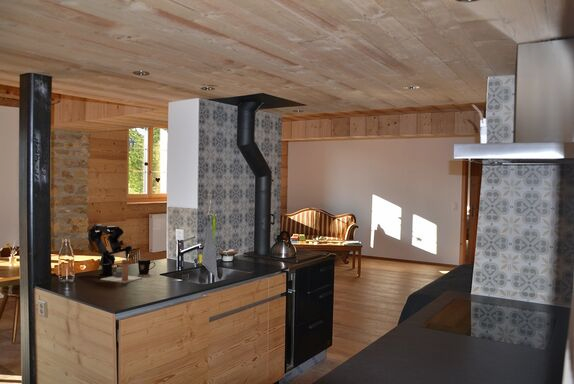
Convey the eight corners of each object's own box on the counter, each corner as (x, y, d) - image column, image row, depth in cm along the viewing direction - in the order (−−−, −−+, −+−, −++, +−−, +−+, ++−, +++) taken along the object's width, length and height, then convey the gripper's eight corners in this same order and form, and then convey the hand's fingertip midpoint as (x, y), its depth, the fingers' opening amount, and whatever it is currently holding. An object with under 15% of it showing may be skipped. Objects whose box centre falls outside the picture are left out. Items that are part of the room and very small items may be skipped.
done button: (114, 274, 315) (115, 268, 315) (119, 272, 319) (119, 267, 319) (120, 274, 314) (120, 268, 314) (124, 273, 318) (124, 267, 318)
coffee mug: (134, 274, 328) (135, 259, 327) (143, 272, 335) (144, 258, 335) (147, 275, 322) (147, 261, 322) (156, 273, 330) (156, 259, 330)
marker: (120, 280, 302) (120, 260, 302) (123, 279, 306) (124, 259, 306) (126, 280, 301) (126, 260, 301) (129, 279, 305) (129, 259, 305)
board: (100, 279, 306) (100, 275, 306) (118, 275, 321) (118, 271, 321) (124, 283, 298) (124, 278, 298) (142, 278, 314) (142, 273, 314)
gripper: (100, 240, 306) (106, 262, 300) (129, 234, 315) (135, 254, 309) (99, 247, 315) (105, 268, 309) (127, 241, 324) (134, 261, 318)
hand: (120, 263), depth 311 cm, fingers open, 9 cm apart
